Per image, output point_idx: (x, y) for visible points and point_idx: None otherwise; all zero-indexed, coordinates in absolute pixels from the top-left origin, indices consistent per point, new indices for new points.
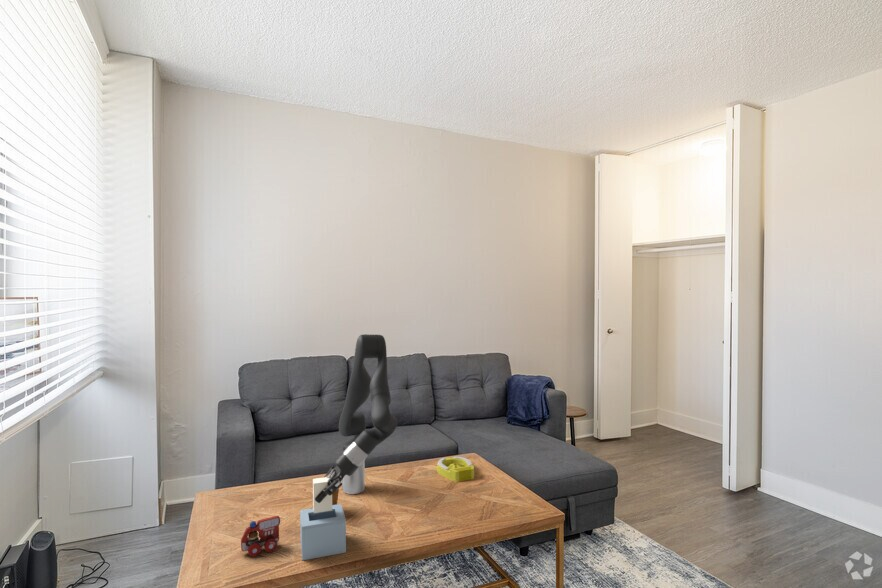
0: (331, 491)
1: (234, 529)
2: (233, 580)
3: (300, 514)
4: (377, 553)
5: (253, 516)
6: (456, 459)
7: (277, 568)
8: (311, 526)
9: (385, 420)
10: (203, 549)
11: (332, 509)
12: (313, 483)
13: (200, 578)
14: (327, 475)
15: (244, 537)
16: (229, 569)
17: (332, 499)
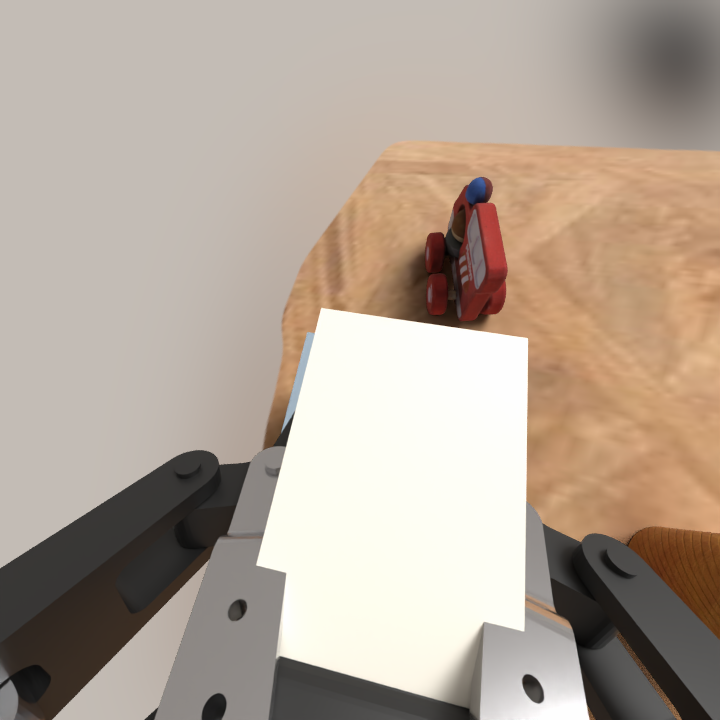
0: (181, 553)
1: (616, 229)
2: (336, 215)
3: None
4: None
5: (704, 284)
6: None
7: (330, 307)
8: (296, 377)
9: None
10: (520, 164)
11: None
12: (345, 315)
13: (384, 161)
14: (558, 697)
15: (458, 200)
16: (390, 209)
17: (714, 629)
